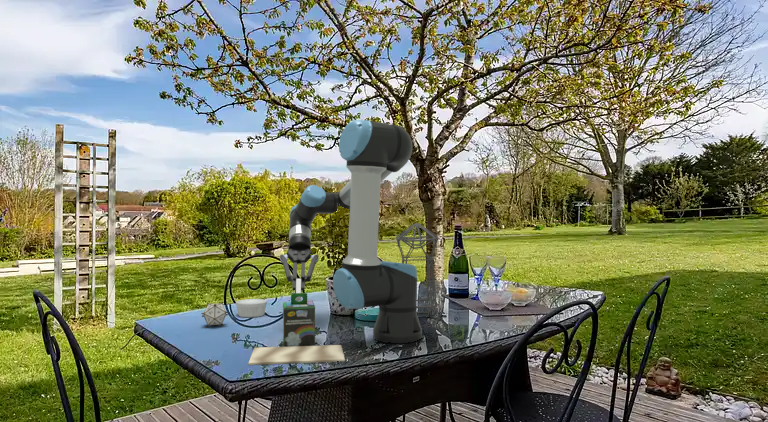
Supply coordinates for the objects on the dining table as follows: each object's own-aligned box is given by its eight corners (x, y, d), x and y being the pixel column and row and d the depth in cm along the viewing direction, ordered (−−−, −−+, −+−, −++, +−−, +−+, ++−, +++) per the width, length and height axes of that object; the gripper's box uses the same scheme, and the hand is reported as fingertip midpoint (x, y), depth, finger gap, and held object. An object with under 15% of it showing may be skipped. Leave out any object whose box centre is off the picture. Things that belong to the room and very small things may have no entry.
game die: (217, 338, 160) (217, 318, 154) (195, 327, 161) (194, 307, 156) (233, 320, 167) (234, 300, 161) (212, 310, 169) (212, 290, 163)
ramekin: (238, 312, 185) (239, 298, 185) (268, 312, 186) (268, 298, 186) (232, 318, 173) (233, 304, 174) (264, 318, 175) (264, 303, 175)
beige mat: (341, 346, 138) (341, 344, 138) (344, 361, 124) (344, 359, 124) (254, 349, 134) (254, 347, 134) (248, 364, 120) (248, 362, 120)
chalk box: (313, 338, 147) (313, 289, 147) (315, 346, 138) (316, 294, 138) (282, 339, 145) (282, 290, 145) (282, 348, 136) (283, 295, 136)
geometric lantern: (441, 320, 174) (440, 223, 174) (397, 321, 174) (396, 224, 174) (436, 311, 190) (434, 222, 190) (396, 311, 190) (394, 222, 189)
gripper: (318, 248, 170) (319, 304, 154) (280, 248, 168) (277, 305, 151) (319, 234, 165) (319, 290, 148) (280, 233, 163) (276, 291, 146)
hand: (298, 297), depth 150 cm, fingers closed
